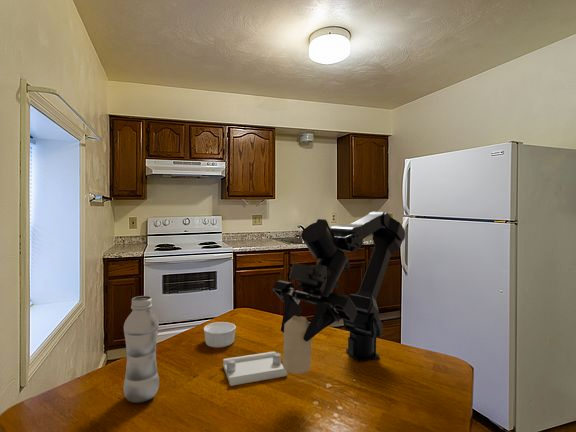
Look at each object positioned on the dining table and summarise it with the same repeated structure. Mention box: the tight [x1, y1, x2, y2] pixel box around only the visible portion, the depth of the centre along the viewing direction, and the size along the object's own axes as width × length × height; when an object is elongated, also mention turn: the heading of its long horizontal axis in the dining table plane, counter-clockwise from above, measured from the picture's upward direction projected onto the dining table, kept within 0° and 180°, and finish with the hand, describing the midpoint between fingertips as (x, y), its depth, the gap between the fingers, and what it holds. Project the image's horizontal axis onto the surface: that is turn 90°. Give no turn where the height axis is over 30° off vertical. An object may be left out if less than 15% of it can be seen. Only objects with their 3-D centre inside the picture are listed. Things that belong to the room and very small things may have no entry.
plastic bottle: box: [122, 295, 160, 404], centre depth 65 cm, size 6×7×20 cm
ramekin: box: [203, 321, 237, 349], centre depth 93 cm, size 9×9×4 cm
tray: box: [222, 350, 288, 387], centre depth 77 cm, size 13×9×3 cm
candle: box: [282, 315, 313, 375], centre depth 65 cm, size 6×6×10 cm
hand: (293, 336), depth 64 cm, fingers closed on candle, 5 cm apart
